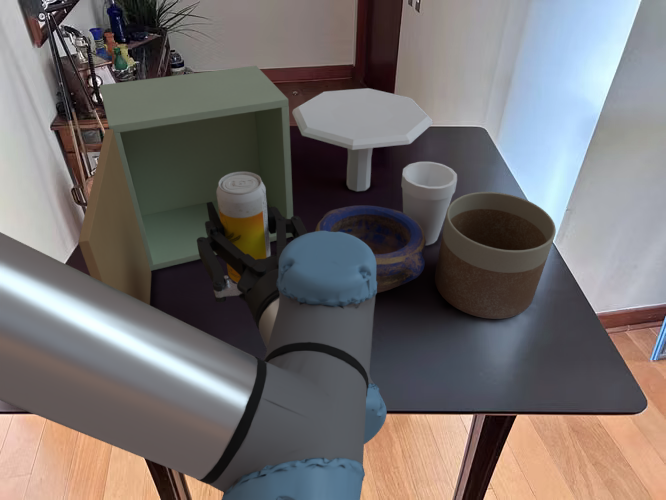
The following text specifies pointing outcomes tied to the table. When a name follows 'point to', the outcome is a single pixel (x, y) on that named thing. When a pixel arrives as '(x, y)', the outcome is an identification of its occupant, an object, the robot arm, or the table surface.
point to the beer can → (244, 215)
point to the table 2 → (361, 125)
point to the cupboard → (197, 150)
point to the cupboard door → (114, 228)
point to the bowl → (382, 240)
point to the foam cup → (428, 195)
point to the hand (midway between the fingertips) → (234, 205)
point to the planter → (493, 253)
